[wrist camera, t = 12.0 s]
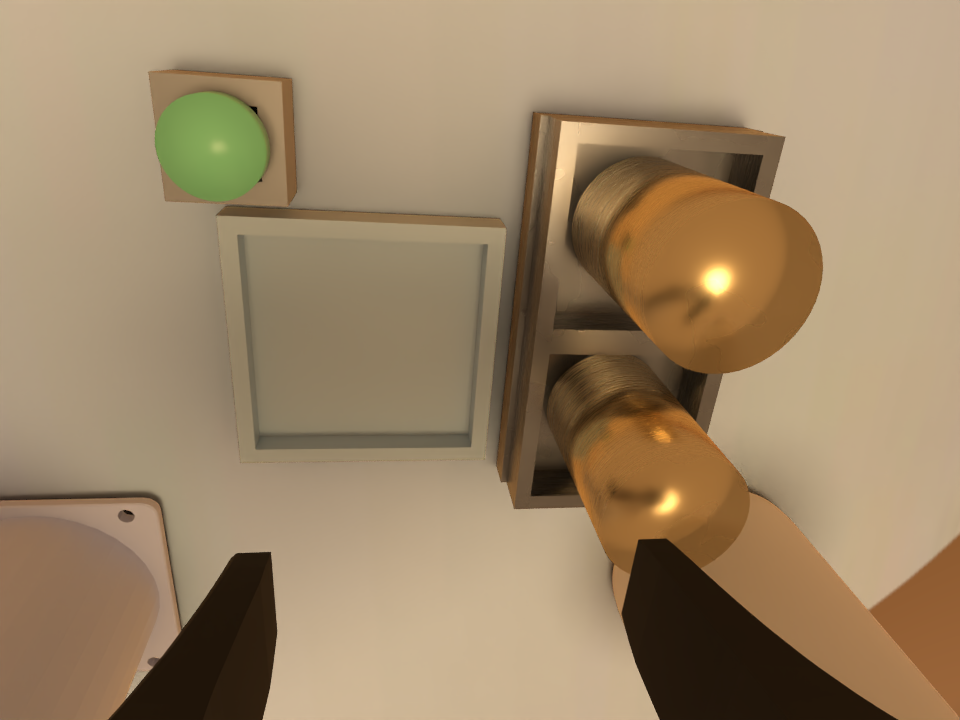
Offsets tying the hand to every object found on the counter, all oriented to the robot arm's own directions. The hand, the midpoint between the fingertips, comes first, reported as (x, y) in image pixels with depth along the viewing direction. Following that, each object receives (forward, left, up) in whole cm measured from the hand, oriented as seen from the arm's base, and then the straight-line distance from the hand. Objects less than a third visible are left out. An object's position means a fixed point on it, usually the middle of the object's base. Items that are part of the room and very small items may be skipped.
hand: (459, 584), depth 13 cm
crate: (+6, +2, -10) cm, 12 cm away
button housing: (-6, +7, -10) cm, 13 cm away
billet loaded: (+6, -1, -9) cm, 11 cm away
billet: (+6, +5, -9) cm, 12 cm away
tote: (-2, +1, -10) cm, 10 cm away
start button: (-6, +7, -10) cm, 13 cm away
